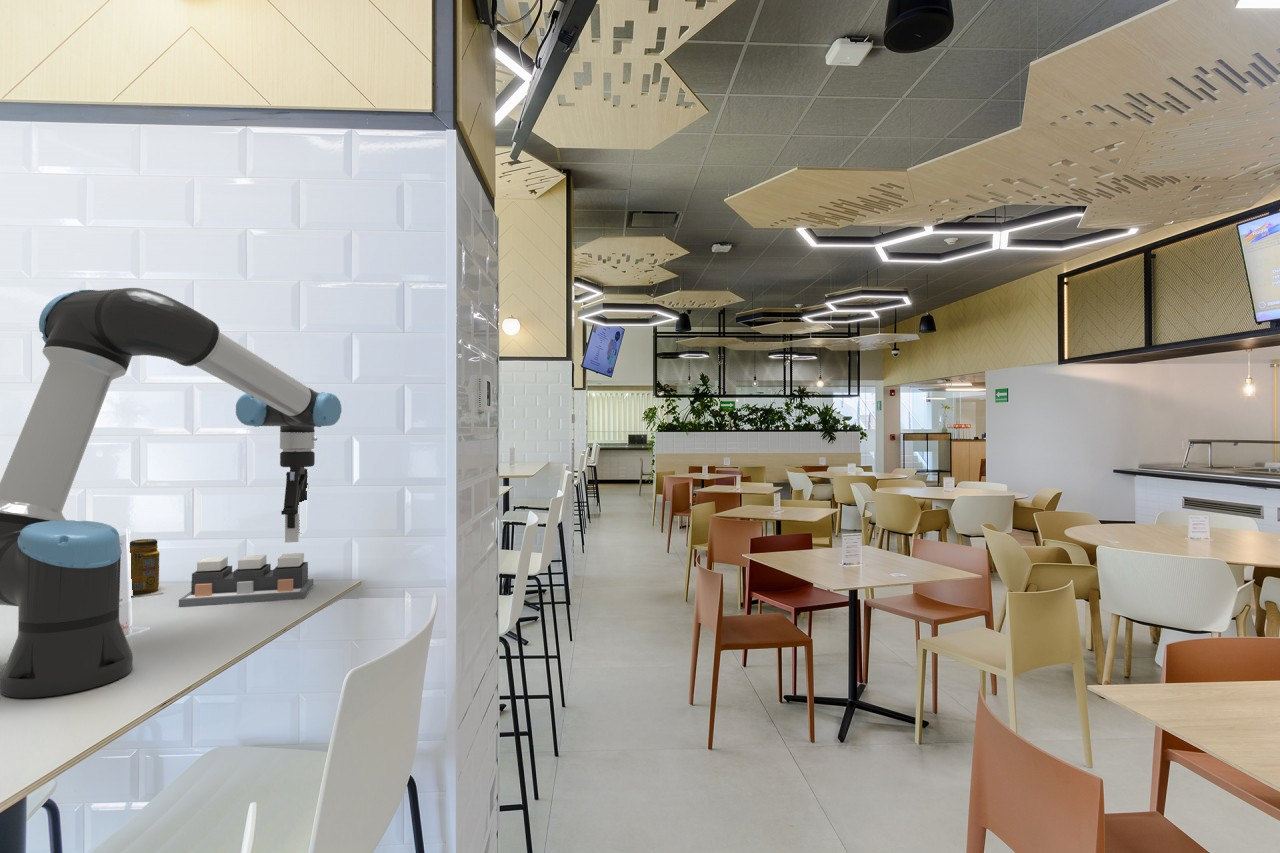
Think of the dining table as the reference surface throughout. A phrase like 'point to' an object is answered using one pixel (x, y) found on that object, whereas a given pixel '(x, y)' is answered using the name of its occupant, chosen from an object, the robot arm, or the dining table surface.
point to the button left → (212, 563)
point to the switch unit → (248, 585)
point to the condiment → (145, 567)
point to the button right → (291, 560)
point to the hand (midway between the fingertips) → (297, 537)
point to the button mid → (252, 562)
